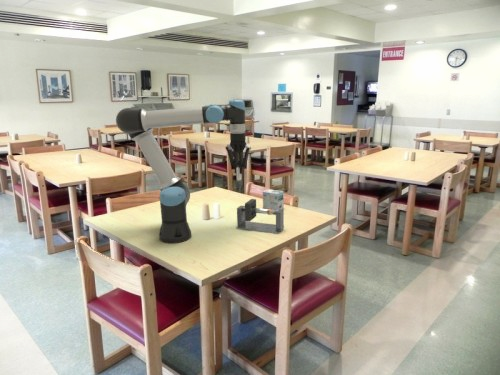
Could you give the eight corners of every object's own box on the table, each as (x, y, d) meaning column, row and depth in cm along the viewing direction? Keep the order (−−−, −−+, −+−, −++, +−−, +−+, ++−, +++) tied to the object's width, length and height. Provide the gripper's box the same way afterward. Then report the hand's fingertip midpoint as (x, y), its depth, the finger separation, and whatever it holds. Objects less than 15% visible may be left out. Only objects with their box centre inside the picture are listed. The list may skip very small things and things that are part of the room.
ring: (245, 220, 185) (244, 203, 183) (251, 215, 193) (251, 198, 191) (249, 221, 184) (249, 204, 182) (256, 216, 192) (256, 199, 190)
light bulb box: (283, 208, 219) (284, 190, 216) (278, 211, 213) (278, 193, 211) (268, 206, 225) (268, 188, 222) (262, 209, 219) (262, 191, 216)
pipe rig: (235, 228, 188) (234, 208, 185) (243, 222, 197) (242, 203, 194) (279, 233, 179) (279, 213, 177) (284, 227, 188) (285, 207, 186)
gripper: (222, 133, 179) (224, 180, 185) (247, 133, 175) (248, 182, 180) (228, 131, 186) (230, 177, 192) (253, 132, 181) (254, 179, 187)
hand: (239, 179), depth 186 cm, fingers closed
